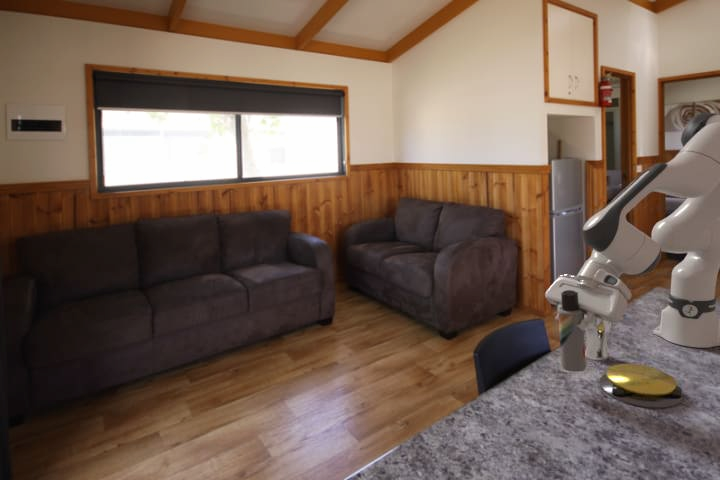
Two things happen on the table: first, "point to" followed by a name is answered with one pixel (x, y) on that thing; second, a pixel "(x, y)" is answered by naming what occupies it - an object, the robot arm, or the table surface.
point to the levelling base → (641, 398)
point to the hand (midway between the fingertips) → (568, 324)
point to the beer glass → (597, 339)
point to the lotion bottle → (571, 333)
